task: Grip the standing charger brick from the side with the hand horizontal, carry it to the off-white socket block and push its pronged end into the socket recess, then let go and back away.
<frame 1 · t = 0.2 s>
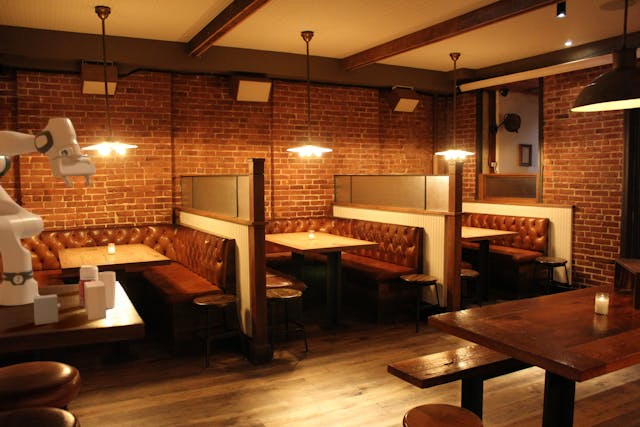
hand: (79, 186, 226), 52 cm above the table, tool tilted 20°, fingers open, 8 cm apart
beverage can: (89, 290, 267), on the table
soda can: (88, 306, 238), on the table
charger: (46, 322, 213), on the table
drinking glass: (108, 308, 234), on the table
socket block: (96, 315, 222), on the table
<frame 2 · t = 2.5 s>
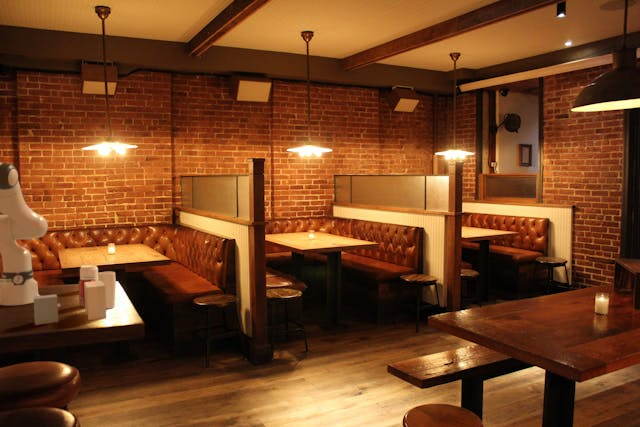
hand: (12, 283, 206), 16 cm above the table, tool horizontal, fingers open, 8 cm apart
nothing on the table moved.
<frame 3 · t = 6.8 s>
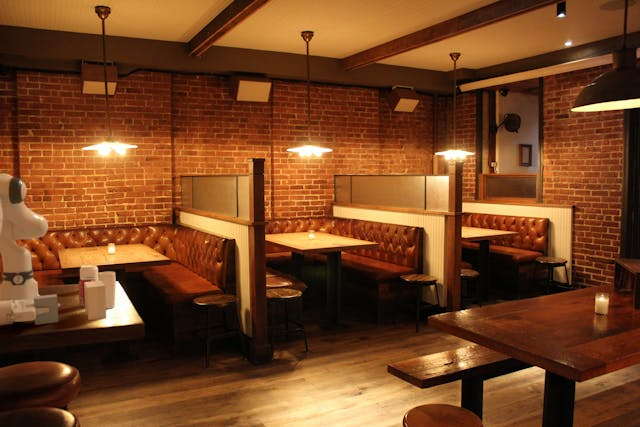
hand: (48, 307, 213), 6 cm above the table, tool horizontal, fingers closed on charger, 4 cm apart
charger: (46, 321, 213), on the table, touching gripper
everything else where it was.
when the fingers open (6 cm above the table, at t = 11.9 s): charger stays where it is, on the table.
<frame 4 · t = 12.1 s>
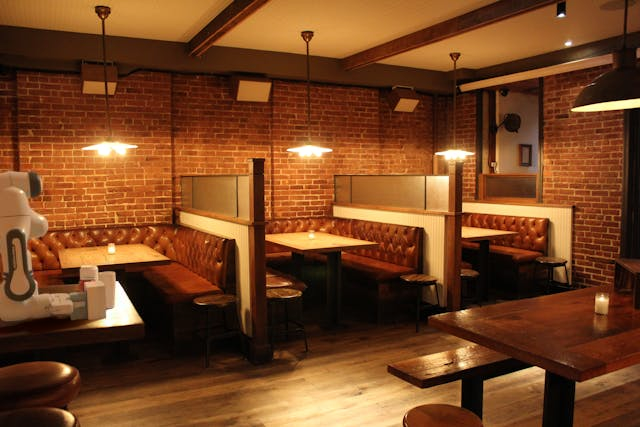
hand: (83, 301, 219), 6 cm above the table, tool horizontal, fingers open, 6 cm apart
charger: (81, 317, 219), on the table
everything else where it was.
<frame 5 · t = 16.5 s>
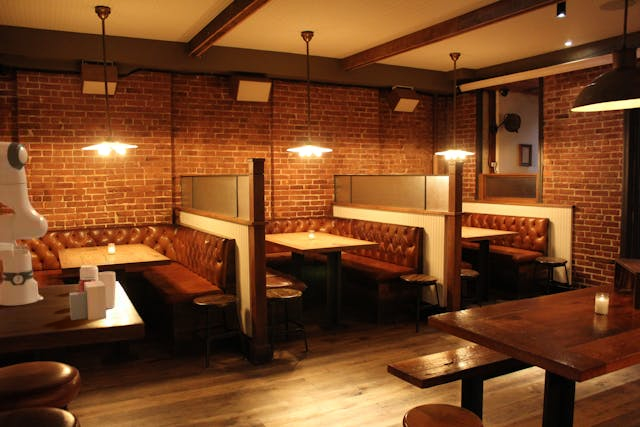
hand: (27, 249, 212), 28 cm above the table, tool horizontal, fingers open, 8 cm apart
nothing on the table moved.
at the end: charger 0.1 cm from the target spot on the table beside the socket block, on the table; charger tilted 0°; the gripper is holding nothing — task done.
